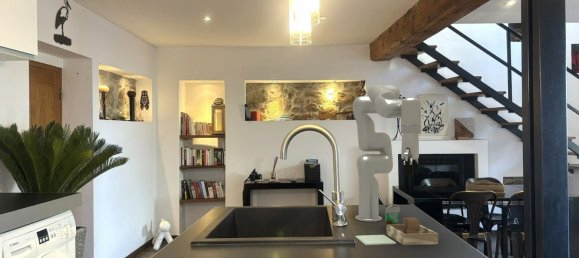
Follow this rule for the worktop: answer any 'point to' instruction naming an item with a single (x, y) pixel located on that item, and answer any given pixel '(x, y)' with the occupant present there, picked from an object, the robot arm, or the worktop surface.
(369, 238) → the mat
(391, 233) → the access box
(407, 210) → the worktop surface
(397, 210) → the food container
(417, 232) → the walnut block
